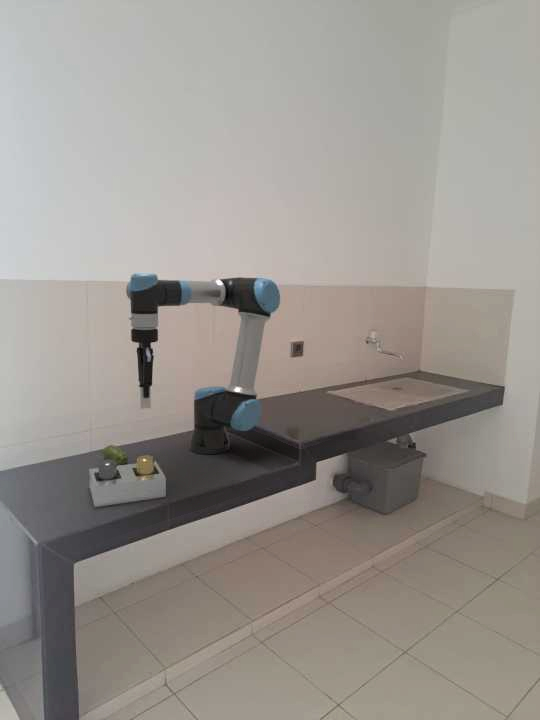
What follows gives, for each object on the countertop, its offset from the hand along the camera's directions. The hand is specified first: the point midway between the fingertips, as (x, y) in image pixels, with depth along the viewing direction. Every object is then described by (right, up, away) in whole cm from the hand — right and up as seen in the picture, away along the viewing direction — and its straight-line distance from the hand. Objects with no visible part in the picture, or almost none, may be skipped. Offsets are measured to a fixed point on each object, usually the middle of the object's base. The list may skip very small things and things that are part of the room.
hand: (145, 407), depth 155 cm
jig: (-6, -25, +2) cm, 26 cm away
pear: (-16, -21, +26) cm, 38 cm away
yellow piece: (-1, -25, +4) cm, 26 cm away
